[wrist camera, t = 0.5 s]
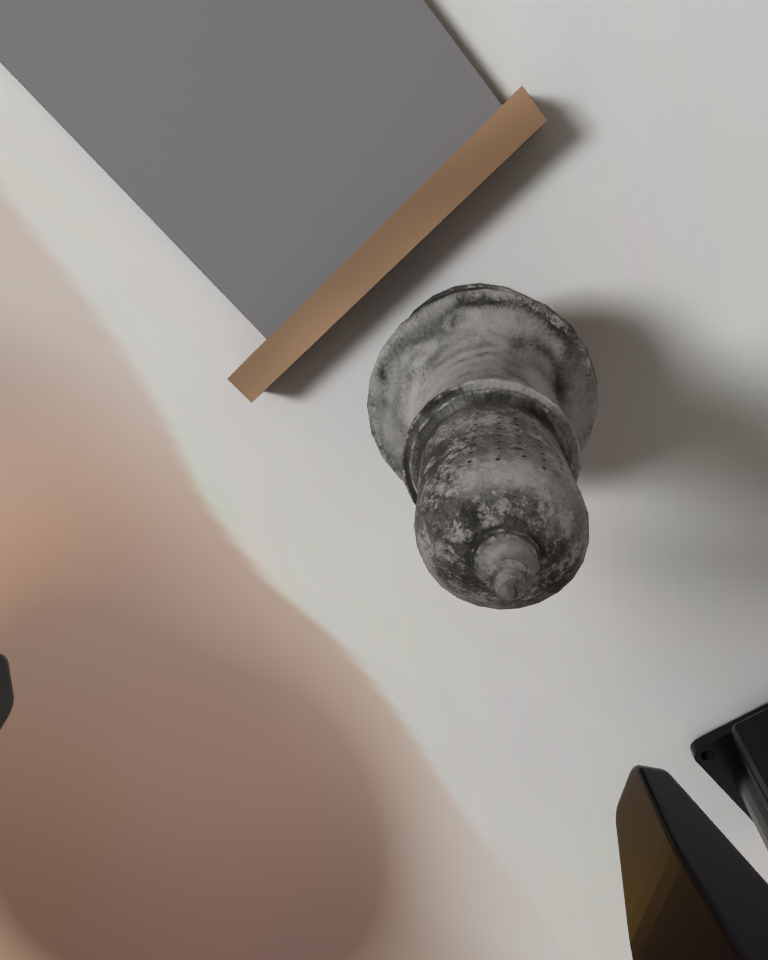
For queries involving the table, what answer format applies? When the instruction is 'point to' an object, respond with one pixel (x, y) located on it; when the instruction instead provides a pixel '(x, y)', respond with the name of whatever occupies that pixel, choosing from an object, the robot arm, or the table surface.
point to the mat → (254, 122)
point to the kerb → (392, 241)
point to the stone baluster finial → (489, 440)
